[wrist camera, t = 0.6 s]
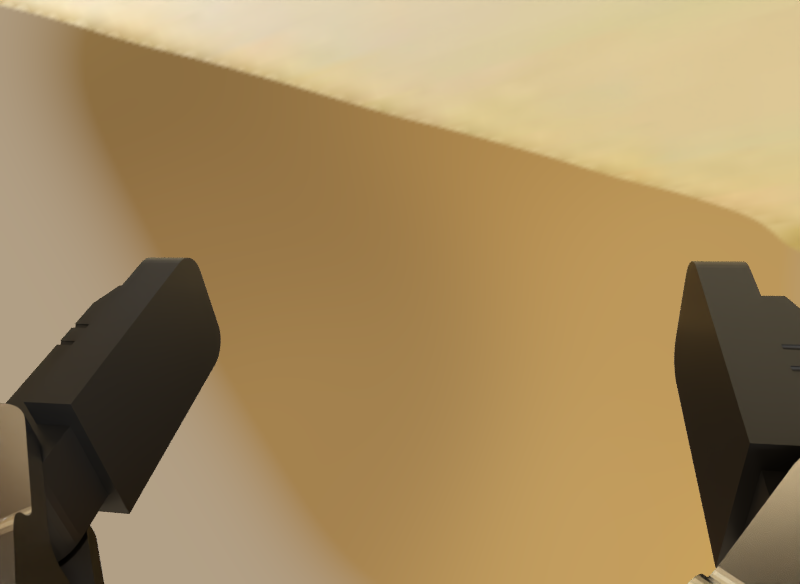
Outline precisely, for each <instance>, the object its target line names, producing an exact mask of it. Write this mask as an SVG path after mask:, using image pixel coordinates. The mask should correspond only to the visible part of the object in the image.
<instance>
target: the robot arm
mask: <svg viewBox="0 0 800 584" xmlns="http://www.w3.org/2000/svg"><path fill="white" fill-rule="evenodd" d="M219 351H220V330H219V326H218V323H217V320H216V317H215V314H214V311H213V308H212V305H211V302H210V299H209V296H208V293H207V290H206V287H205V284H204V281H203V278H202V275H201V272H200V269H199V267H198V265H197V264H196V262H195V261H194V260H193V259H191V258H147V259H145V260H144V261H143V262H142V263H141V264H140V265H139V266H138V267H137V268H136V270H135V271H134V272H133V273H132V275H131V276H130V277H129V278H128V279H127V280H126V281H125V283H124V284H123V285H122V286H118V287H117V288H115V289H114V290H112V291H111V292H109V293H108V294H106V295H105V296H103V297H102V298H100V299H99V300H98V301H96V302H94V303H93V304H92V305H91V307H90V308H89V309H88V310H87V311H86V312H85V313H84V315H83V316H82V317H81V318H80V319H79V320H78V321H77V322H76V327H75V328H71V329H70V330H69V332H68V333H67V334H66V335H65V336H64V337H63V338H62V340H61V345H56V346H55V348H54V349H53V350H52V351H51V352H50V353H49V354H48V356H47V357H46V358H45V359H44V360H43V361H42V362H41V364H40V365H39V366H38V367H37V368H36V369H35V371H34V372H33V373H32V374H31V375H30V376H29V378H28V379H27V380H26V381H25V382H24V383H23V384H22V385H21V387H20V388H19V389H18V390H17V391H16V392H15V393H14V395H13V396H12V397H11V398H10V399H9V400H8V401H7V402H6V403H0V584H104V580H103V574H102V567H101V562H100V556H99V550H98V544H97V538H96V535H95V533H94V531H93V529H92V527H91V526H90V524H91V522H92V521H93V519H94V517H95V516H96V514H97V513H98V511H103V512H114V513H126V514H130V512H131V510H132V508H133V507H134V505H135V503H136V501H137V500H138V498H139V496H140V494H141V493H142V491H143V489H144V488H145V486H146V484H147V482H148V481H149V479H150V477H151V475H152V474H153V472H154V470H155V468H156V467H157V465H158V463H159V461H160V460H161V458H162V456H163V454H164V452H165V451H166V449H167V447H168V446H169V444H170V442H171V440H172V439H173V437H174V435H175V433H176V432H177V430H178V428H179V426H180V425H181V422H182V421H183V419H184V418H185V416H186V414H187V413H188V410H189V409H190V407H191V405H192V404H193V402H194V400H195V399H196V397H197V395H198V393H199V392H200V390H201V388H202V386H203V385H204V383H205V381H206V379H207V378H208V376H209V374H210V372H211V371H212V369H213V367H214V365H215V363H216V361H217V359H218V356H219ZM674 355H675V356H674V365H675V377H676V384H677V388H678V393H679V397H680V402H681V407H682V412H683V416H684V421H685V426H686V431H687V435H688V440H689V445H690V449H691V454H692V459H693V464H694V468H695V473H696V478H697V482H698V486H699V492H700V497H701V501H702V506H703V510H704V515H705V520H706V525H707V529H708V534H709V538H710V543H711V548H712V553H713V558H714V562H715V567H716V569H715V571H714V572H713V573H712V574H711V575H710V576H709V577H706V576H705V575H703V574H699V575H697V576H696V577H694V578H693V579H692V580H691V581H690V582H689V583H688V584H800V308H798V307H797V306H796V305H795V304H794V303H793V302H791V301H790V300H789V299H788V298H787V297H785V296H761V295H760V292H759V290H758V287H757V285H756V282H755V280H754V278H753V275H752V273H751V270H750V268H749V266H748V264H747V263H746V262H703V261H701V262H699V261H697V262H696V261H694V262H693V261H692V262H691V263H690V264H689V266H688V269H687V273H686V279H685V285H684V291H683V298H682V304H681V310H680V316H679V322H678V328H677V334H676V342H675V353H674Z"/></svg>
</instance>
